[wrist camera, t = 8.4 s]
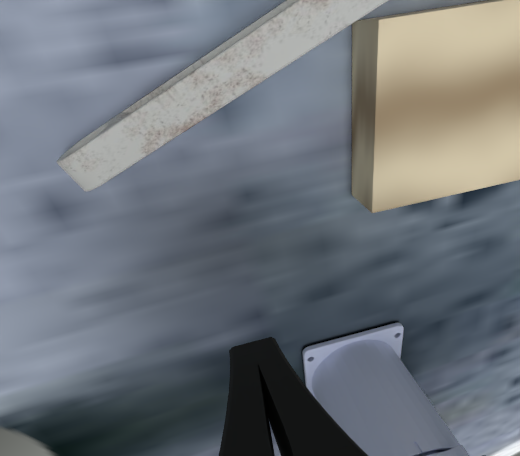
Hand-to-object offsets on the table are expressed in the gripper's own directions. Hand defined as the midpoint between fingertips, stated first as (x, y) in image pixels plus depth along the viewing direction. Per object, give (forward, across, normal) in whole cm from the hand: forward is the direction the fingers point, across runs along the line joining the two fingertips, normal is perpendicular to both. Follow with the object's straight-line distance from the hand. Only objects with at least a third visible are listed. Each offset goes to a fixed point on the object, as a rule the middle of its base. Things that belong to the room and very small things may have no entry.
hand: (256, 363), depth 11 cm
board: (+10, -13, -4) cm, 17 cm away
